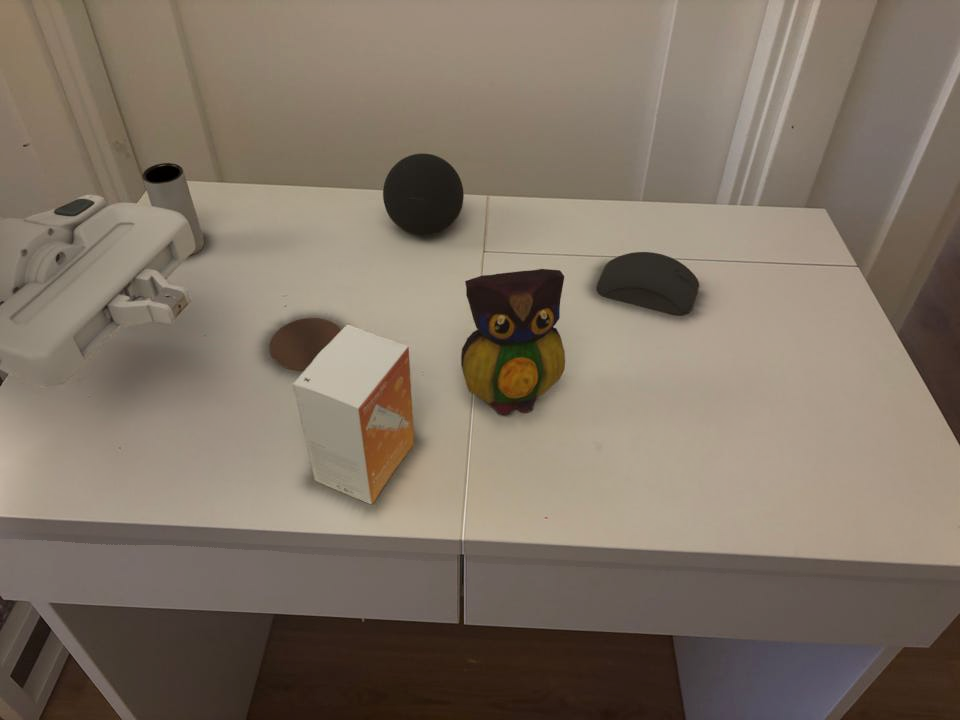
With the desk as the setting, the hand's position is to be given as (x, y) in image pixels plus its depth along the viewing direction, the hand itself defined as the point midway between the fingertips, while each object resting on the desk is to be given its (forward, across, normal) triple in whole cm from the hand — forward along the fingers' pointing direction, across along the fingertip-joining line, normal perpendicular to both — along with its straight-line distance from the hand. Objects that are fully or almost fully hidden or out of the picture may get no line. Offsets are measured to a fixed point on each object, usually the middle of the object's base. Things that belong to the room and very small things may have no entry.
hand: (180, 306), depth 62 cm
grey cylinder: (-20, +25, +15) cm, 35 cm away
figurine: (+26, +12, +16) cm, 32 cm away
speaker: (+8, +37, +15) cm, 41 cm away
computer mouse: (+37, +34, +15) cm, 52 cm away
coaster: (+3, +13, +15) cm, 20 cm away
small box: (+15, 0, +16) cm, 22 cm away
